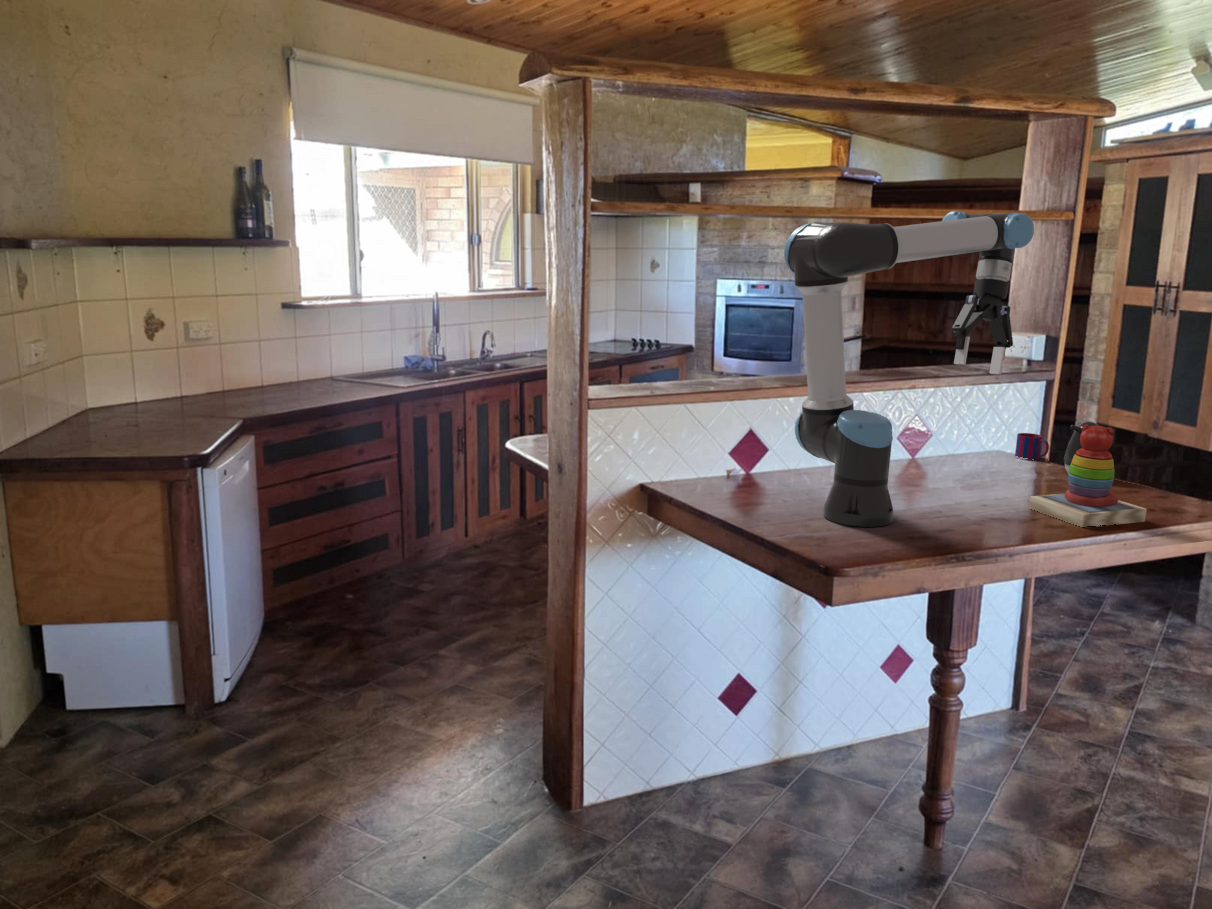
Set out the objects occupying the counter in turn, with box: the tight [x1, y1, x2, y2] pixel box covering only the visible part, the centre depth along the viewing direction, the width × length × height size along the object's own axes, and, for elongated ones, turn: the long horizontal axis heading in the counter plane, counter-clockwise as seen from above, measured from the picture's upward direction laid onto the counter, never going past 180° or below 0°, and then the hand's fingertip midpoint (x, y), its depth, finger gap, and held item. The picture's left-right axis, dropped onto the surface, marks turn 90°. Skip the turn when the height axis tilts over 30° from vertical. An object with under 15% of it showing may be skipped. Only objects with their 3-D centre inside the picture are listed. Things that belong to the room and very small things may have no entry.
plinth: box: [1028, 493, 1147, 528], centre depth 220 cm, size 18×16×3 cm
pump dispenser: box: [1063, 421, 1099, 474], centre depth 256 cm, size 10×10×15 cm
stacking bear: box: [1064, 424, 1119, 507], centre depth 218 cm, size 11×10×18 cm
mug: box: [1014, 432, 1050, 461], centre depth 278 cm, size 7×10×7 cm
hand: (977, 369), depth 228 cm, fingers open, 13 cm apart
